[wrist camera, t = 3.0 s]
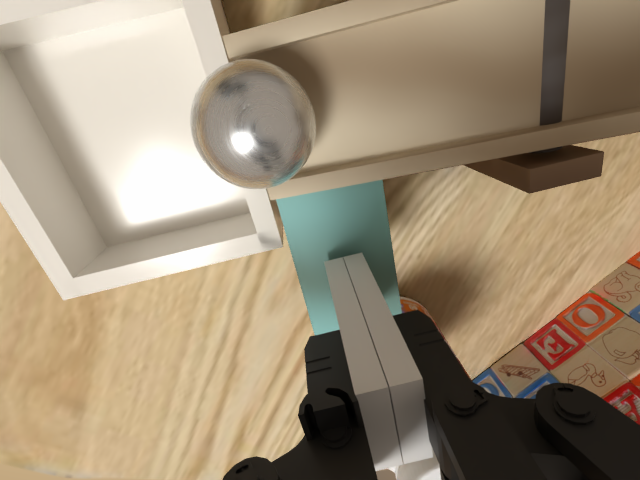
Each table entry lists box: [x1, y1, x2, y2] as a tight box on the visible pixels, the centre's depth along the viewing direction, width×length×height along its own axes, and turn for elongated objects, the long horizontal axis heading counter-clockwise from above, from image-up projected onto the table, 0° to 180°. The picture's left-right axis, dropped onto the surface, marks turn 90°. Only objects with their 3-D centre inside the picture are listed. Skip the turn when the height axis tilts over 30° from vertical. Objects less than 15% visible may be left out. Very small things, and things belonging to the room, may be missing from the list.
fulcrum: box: [464, 145, 604, 193], centre depth 14 cm, size 9×5×9 cm, turn 12°
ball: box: [190, 59, 316, 189], centre depth 10 cm, size 4×4×4 cm
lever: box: [222, 0, 640, 335], centre depth 11 cm, size 12×19×3 cm, turn 102°
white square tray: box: [0, 0, 283, 300], centre depth 16 cm, size 12×11×4 cm
